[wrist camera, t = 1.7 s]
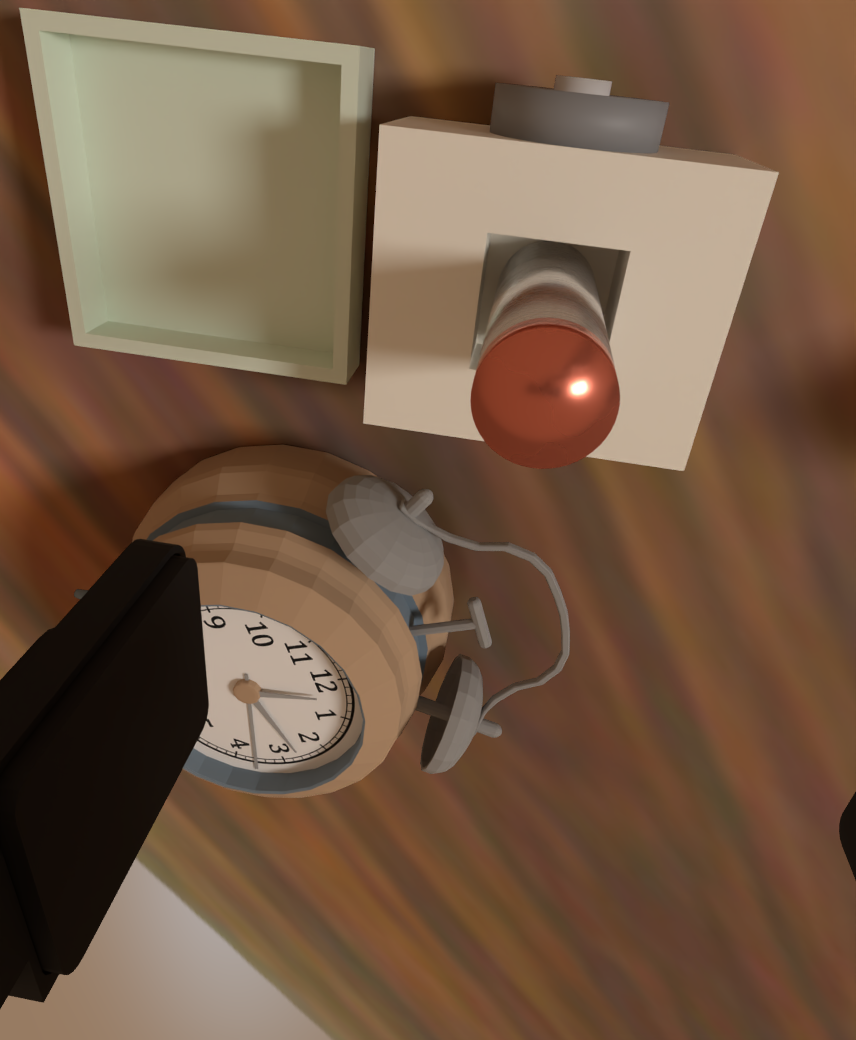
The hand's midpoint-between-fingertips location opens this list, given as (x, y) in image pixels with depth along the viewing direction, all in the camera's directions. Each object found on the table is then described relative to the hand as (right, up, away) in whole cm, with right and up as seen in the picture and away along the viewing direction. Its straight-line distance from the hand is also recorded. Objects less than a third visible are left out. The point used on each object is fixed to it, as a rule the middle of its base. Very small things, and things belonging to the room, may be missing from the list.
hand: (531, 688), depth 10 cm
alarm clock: (-6, -1, +30) cm, 30 cm away
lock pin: (+3, +11, +17) cm, 21 cm away
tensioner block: (+3, +12, +20) cm, 24 cm away
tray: (-10, +15, +20) cm, 27 cm away
